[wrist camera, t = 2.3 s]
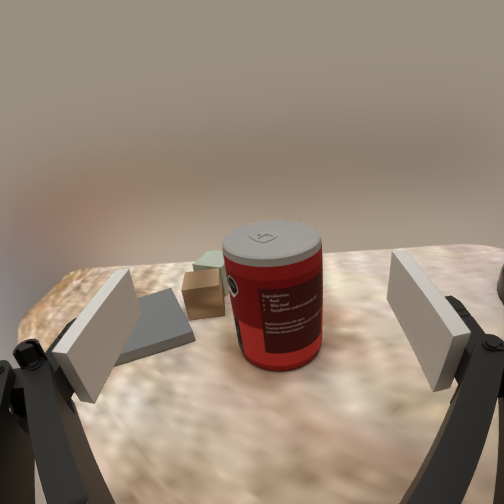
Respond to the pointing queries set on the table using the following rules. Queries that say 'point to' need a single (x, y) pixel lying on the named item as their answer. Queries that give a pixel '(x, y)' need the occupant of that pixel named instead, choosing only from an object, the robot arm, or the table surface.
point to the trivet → (157, 327)
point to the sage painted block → (213, 266)
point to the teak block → (203, 294)
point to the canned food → (276, 291)
